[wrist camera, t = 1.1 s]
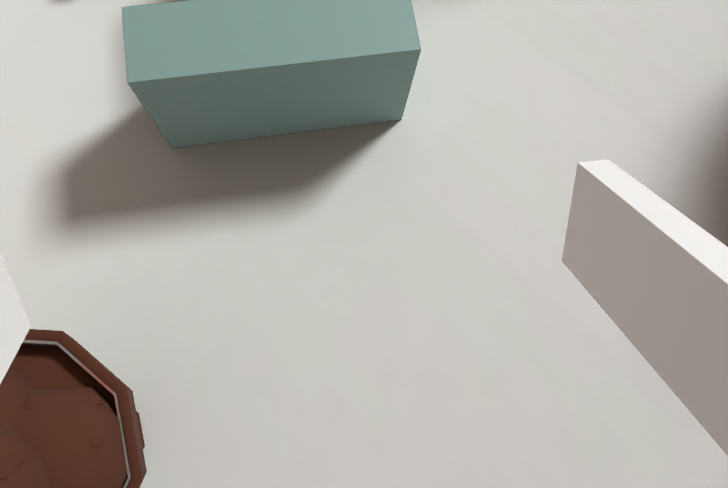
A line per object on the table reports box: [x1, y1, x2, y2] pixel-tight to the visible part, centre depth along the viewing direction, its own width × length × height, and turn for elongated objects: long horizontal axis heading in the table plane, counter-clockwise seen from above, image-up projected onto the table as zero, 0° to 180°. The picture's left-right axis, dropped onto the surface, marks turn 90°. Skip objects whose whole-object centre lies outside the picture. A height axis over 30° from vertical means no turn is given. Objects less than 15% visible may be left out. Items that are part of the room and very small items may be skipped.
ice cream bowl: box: [0, 329, 147, 488], centre depth 24 cm, size 11×11×15 cm
